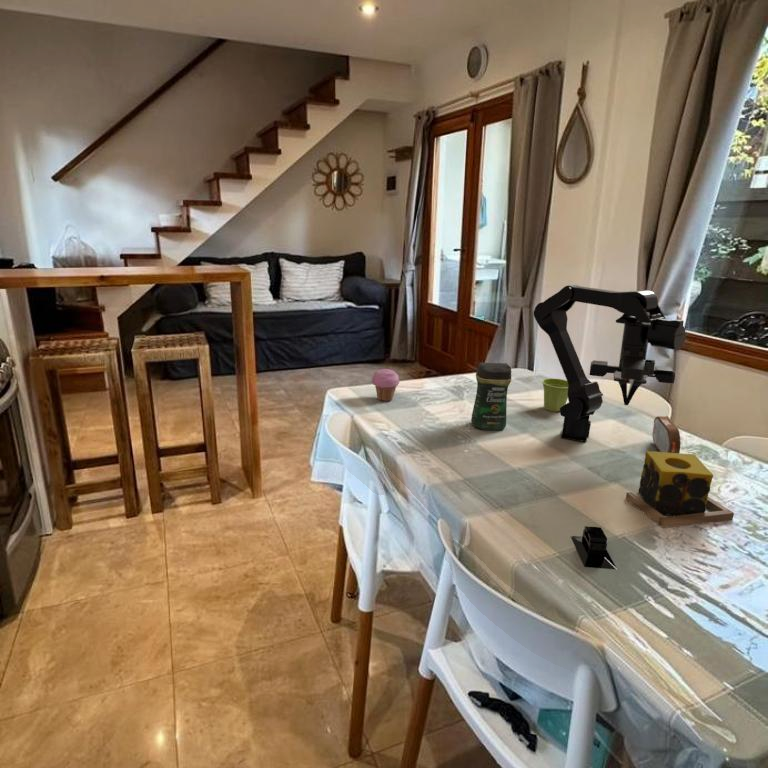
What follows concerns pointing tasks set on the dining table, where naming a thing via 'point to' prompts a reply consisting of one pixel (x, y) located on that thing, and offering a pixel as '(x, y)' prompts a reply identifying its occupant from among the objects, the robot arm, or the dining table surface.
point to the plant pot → (555, 393)
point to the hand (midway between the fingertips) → (626, 404)
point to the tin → (666, 435)
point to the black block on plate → (593, 548)
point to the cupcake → (385, 383)
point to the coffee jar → (491, 396)
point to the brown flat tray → (717, 515)
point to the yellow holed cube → (675, 483)
